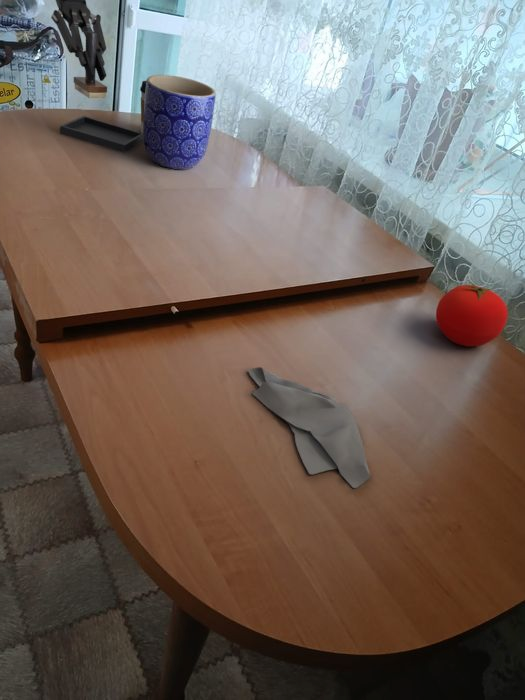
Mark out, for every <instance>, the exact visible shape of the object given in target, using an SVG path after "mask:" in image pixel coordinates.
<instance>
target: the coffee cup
mask: <svg viewBox="0 0 525 700" xmlns="http://www.w3.org/2000/svg"><path fill="white" fill-rule="evenodd" d="M146 81H147V80H142V82H141V86H139V87H140V88H139V91H140V92H141V97H140V118H141V119H140V122H141V124H140V127H141V128H140V131H141V132H140V133H143V120H144V102H145V90H146Z"/></svg>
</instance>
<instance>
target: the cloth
mask: <svg viewBox="0 0 525 700" xmlns="http://www.w3.org/2000/svg"><path fill="white" fill-rule="evenodd" d="M247 373H248V374H249V376H250V378H251V379H252V380H253V382H255V384H256V385H257V386H258V388H257V389H256V390H254V391H253V392H252V395H253V396H254V398H256V399H257V400H258V401H259V402H260V403H261V404H263V405H264V406H265V407H266V408H267V409H268V410H269V411H271V412H273V413H274V414H275V415H276V416H277V417H280V418H281V419H282V420H283V421H285V423H286V424H287V425H288V426H289V427H290V430H291V432H292V433H293V434H294V442H295V447H296V449H297V452H298V455H299V457H300V460H301V461H302V465H303V466H304V468H305V469H306V471H307V474H308V475H310V476H314V475H317V474H321V473H324V472H328V471H334V470H338V473H339V475H340V476H341V477H342V478H343V479H344V480H345V481H346V482H347V484H348V485H349V486H350V487H351V488H352V489H355V490H356V489H358V488H359V487H360V486H362V485H363V484H364V483H365V482H367V481H368V480H369V479H370V478H371V472H370V469H369V465H368V462H367V457H366V453H365V449H364V445H363V440H362V438H361V433H360V430H359V427H358V424H357V421H356V418H355V415H354V413H353V411H352V410H351V409H350V408H349V406H348V405H347V404H346V403H340V402H339V401H338V400H336V399H335V398H334V397H333V396H329V395H327V394H325V393H321V392H320V391H317V390H314V389H312V388H309V387H308V386H306V385H304V384H300V383H298V382H296V381H293V380H288V379H286V378H282V377H279V376H278V375H277V374H275V373H274V372H270V371H269V370H266V369H264V368H263V367H261V366H257V367H254V368H253V367H252V368H251V369H249V370H247Z"/></svg>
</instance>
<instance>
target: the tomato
mask: <svg viewBox="0 0 525 700" xmlns="http://www.w3.org/2000/svg"><path fill="white" fill-rule="evenodd" d="M468 283H470V284H461V285H457V286H455V287H453V288H452V289H450V290H449V291H447V292H446V293H445V294H444V295H443V296H442V297H441V298H440V300H439V301H438V304H437V307H436V310H435V320H436V324H437V326H438V329H439V330H440V331H441V332H442V334H443V335H444V336H445V337H446V338H447V339H449V340H450V341H451V342H453V343H454V344H457V345H461V346H463V347H479V346H483V345H486V344H487V343H488V344H489V343H490V342H491V341H493V340H495V339H496V338H497V337H498V336H499V335H500V334H501V333H502V332H503V330H504V328H505V326H506V324H507V321H508V314H509V313H508V308H507V305H506V303H505V302H504V299H503V298H501V296H500V295H498V294H497V293H496V292H494V291H493V290H492V288H485V287H482V286H479V285H476V284H475V283H473V282H471V281H469V280H468Z"/></svg>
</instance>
